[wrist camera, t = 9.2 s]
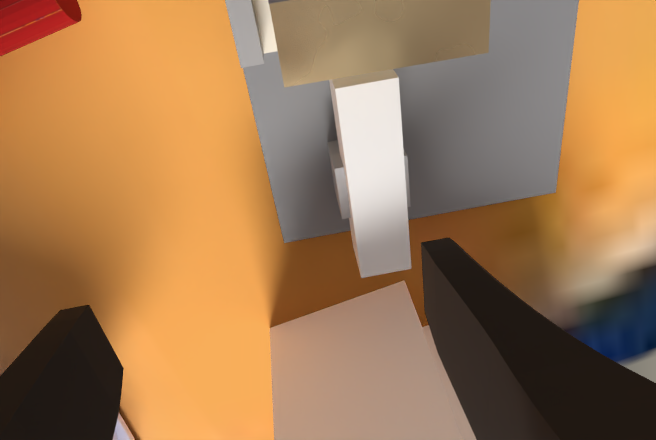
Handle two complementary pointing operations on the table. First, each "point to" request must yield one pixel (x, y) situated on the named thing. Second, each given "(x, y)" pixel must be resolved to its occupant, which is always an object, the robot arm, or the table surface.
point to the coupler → (373, 35)
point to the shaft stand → (411, 130)
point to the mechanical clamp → (33, 20)
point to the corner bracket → (363, 374)
